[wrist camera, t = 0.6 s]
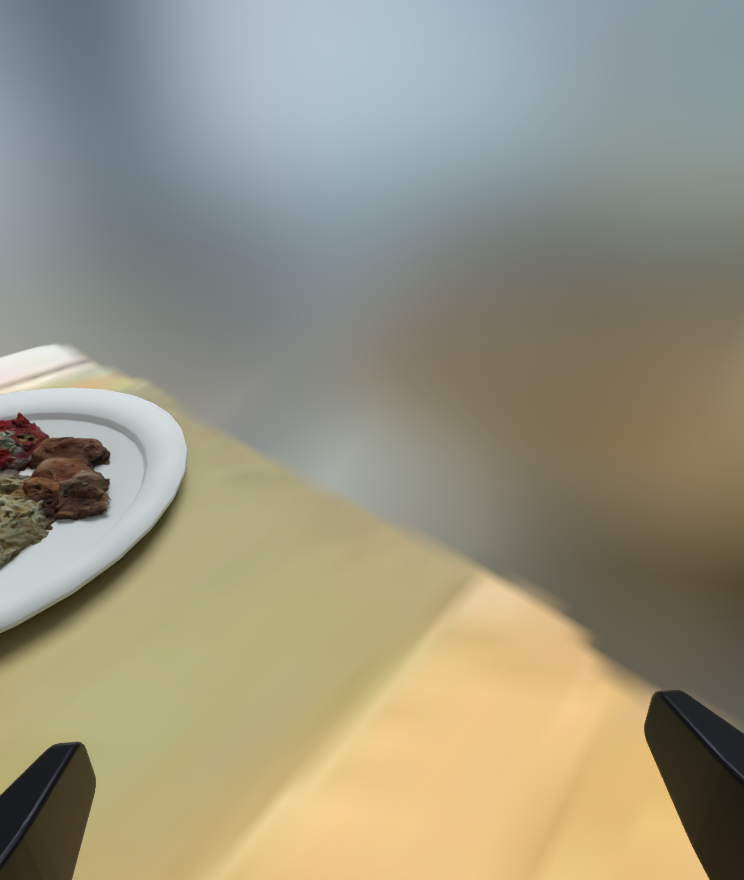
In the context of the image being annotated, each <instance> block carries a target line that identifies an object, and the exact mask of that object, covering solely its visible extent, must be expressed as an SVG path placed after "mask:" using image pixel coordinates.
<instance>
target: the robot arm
mask: <svg viewBox="0 0 744 880" xmlns="http://www.w3.org/2000/svg"><path fill="white" fill-rule="evenodd" d="M644 732H645V737H646V741H647V743H648V746H649V748H650V750H651V753H652V755H653V757H654V760H655V762H656V764H657V767H658V769H659V771H660V774H661V776H662V778H663V781H664V783H665V785H666V788H667V790H668V792H669V794H670V797H671V799H672V801H673V804H674V806H675V808H676V811H677V813H678V815H679V818H680V820H681V822H682V825H683V827H684V829H685V831H686V834H687V836H688V838H689V840H690V842H691V844H692V847H693V849H694V851H695V853H696V855H697V856H698V858H699V860H700V862H701V864H702V866H703V868H704V870H705V872H706V874H707V876H708V877H709V879H710V880H744V733H742V732H741V731H739V730H738V729H736V728H735V727H734V726H732V725H731V724H729V723H728V722H726V721H725V720H724V719H722V718H721V717H719V716H718V715H716V714H715V713H714V712H712V711H711V710H709V709H708V708H706V707H705V706H704V705H702V704H701V703H699V702H698V701H696V700H695V699H694V698H692V697H691V696H689V695H688V694H686V693H685V692H683V691H680V690H665V691H657V692H655V693H654V694H653V696H652V698H651V702H650V706H649V709H648V713H647V717H646V720H645V724H644ZM95 788H96V778H95V774H94V771H93V768H92V765H91V762H90V759H89V756H88V753H87V750H86V747H85V745H84V744H82V743H81V742H69V743H58V744H55V745H53V746H51V747H50V748H48V749H47V750H46V751H45V752H44V753H43V754H42V755H41V756H40V757H39V758H38V759H37V760H36V761H35V762H34V763H33V764H32V765H31V766H30V767H29V768H28V769H27V770H25V771H24V772H23V773H22V774H21V775H20V776H19V777H18V778H17V779H16V780H15V781H14V782H13V783H12V784H11V785H10V786H9V787H8V788H7V789H6V790H5V791H4V792H3V793H2V794H1V795H0V880H72V877H73V874H74V870H75V866H76V862H77V858H78V855H79V851H80V847H81V843H82V840H83V836H84V832H85V828H86V824H87V821H88V817H89V813H90V809H91V805H92V802H93V798H94V794H95Z"/></svg>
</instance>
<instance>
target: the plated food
mask: <svg viewBox="0 0 744 880" xmlns="http://www.w3.org/2000/svg"><path fill="white" fill-rule="evenodd" d="M187 453H188V451H187V447H186V443H185V440H184V436H183V432H182V429H181V428H180V427H179V425H178V424H177V423H176V421H175V420H174V419H173V417H172V416H171V415H170V414H169V413H167V412H166V411H164V410H163V409H161V408H160V407H158V406H157V405H155V404H154V403H151V402H149V401H146V400H144V399H141V398H139V397H136V396H133V395H129V394H124V393H119V392H114V391H110V390H100V389H87V388H48V389H38V390H28V391H18V392H11V393H5V394H0V633H2V632H4V631H6V630H8V629H11V628H13V627H15V626H17V625H19V624H21V623H22V622H24V621H26V620H28V619H29V618H31V617H33V616H35V615H36V614H38V613H40V612H42V611H43V610H45V609H47V608H49V607H50V606H52V605H54V604H56V603H58V602H59V601H61V600H63V599H65V598H66V597H68V596H70V595H72V594H73V593H75V592H76V591H77V590H79V589H80V588H82V587H83V586H84V585H86V584H87V583H88V582H90V581H91V580H92V579H94V578H95V577H97V576H98V575H99V574H101V573H102V572H103V571H105V570H106V569H108V568H109V567H110V566H112V565H113V564H114V563H116V562H117V561H118V560H120V559H121V558H122V557H123V556H124V555H125V554H126V553H127V552H128V551H129V550H130V549H131V548H132V547H133V546H134V545H135V544H136V543H137V542H138V541H140V540H141V539H142V538H143V537H144V536H145V535H146V534H147V533H148V532H149V531H150V530H151V529H152V528H153V527H154V525H155V524H156V523H157V521H158V520H159V519H160V517H161V516H162V515H163V513H164V512H165V510H166V509H167V508H168V506H169V505H170V504H171V502H172V501H173V500H174V498H175V496H176V493H177V491H178V489H179V486H180V484H181V482H182V480H183V477H184V475H185V471H186V462H187Z"/></svg>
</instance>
